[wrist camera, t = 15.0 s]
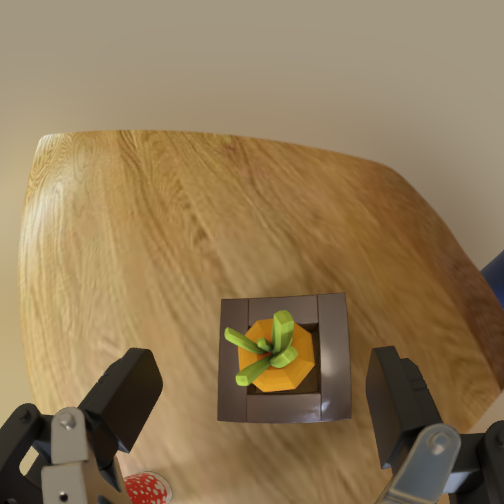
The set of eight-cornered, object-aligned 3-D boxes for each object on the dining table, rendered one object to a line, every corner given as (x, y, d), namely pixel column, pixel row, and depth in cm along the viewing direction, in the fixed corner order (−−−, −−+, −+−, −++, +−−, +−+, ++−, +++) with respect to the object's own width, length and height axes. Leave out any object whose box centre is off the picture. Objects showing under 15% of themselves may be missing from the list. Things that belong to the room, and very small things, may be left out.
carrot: (273, 397, 24) (242, 417, 10) (249, 354, 26) (196, 321, 13) (319, 372, 24) (344, 362, 11) (294, 330, 26) (288, 272, 13)
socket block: (339, 304, 27) (345, 292, 23) (344, 413, 22) (351, 419, 18) (231, 310, 28) (221, 298, 25) (228, 416, 23) (217, 420, 20)
